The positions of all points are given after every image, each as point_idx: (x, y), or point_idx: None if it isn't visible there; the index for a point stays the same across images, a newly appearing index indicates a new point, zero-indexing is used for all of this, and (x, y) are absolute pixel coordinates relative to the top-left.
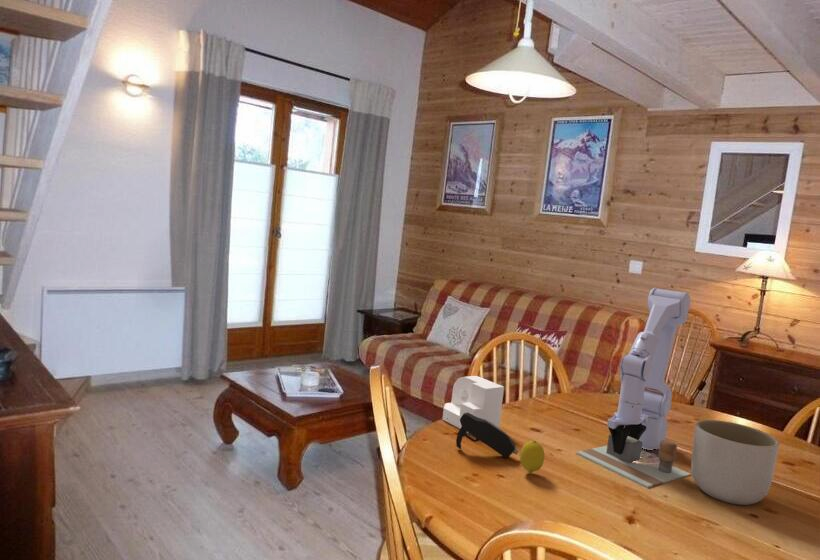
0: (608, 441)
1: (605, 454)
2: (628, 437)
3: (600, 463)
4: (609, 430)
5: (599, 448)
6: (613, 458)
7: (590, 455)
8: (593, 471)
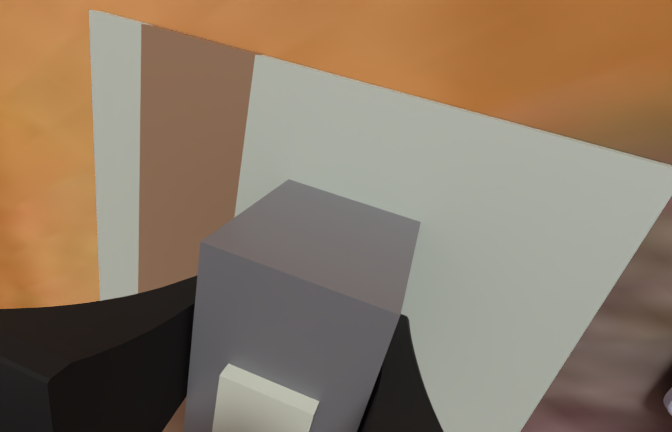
0: (240, 218)
1: (251, 186)
2: (269, 428)
3: (97, 216)
4: (50, 308)
5: (328, 100)
6: None
7: (134, 119)
8: (24, 211)
